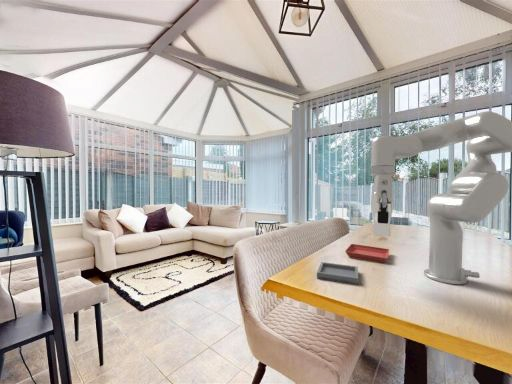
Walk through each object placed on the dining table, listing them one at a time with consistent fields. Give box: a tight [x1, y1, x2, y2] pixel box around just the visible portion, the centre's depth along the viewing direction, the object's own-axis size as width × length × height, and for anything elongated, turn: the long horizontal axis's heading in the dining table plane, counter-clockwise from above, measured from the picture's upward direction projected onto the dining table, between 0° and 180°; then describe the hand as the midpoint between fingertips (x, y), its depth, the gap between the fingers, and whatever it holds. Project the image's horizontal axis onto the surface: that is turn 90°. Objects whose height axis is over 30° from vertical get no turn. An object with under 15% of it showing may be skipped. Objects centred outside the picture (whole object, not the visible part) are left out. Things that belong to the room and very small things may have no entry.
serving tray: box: [316, 261, 359, 286], centre depth 88 cm, size 14×13×2 cm
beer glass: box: [370, 191, 394, 237], centre depth 82 cm, size 7×7×15 cm
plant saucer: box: [344, 243, 390, 263], centre depth 113 cm, size 18×18×3 cm
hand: (381, 221), depth 82 cm, fingers closed on beer glass, 6 cm apart
